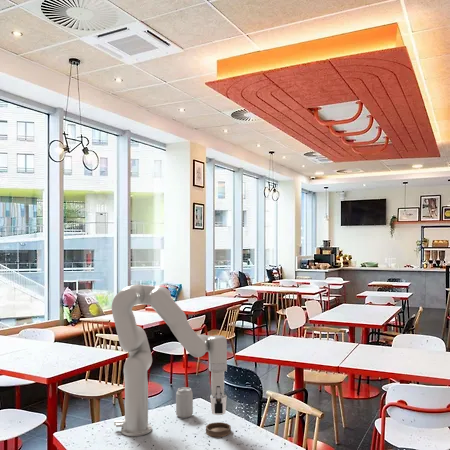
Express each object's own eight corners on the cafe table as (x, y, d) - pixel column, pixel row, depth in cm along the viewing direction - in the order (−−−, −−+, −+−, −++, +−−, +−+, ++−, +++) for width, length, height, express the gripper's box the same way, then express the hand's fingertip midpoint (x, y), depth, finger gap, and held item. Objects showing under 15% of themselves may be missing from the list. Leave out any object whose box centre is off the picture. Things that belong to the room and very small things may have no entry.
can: (173, 417, 217) (173, 390, 218) (179, 412, 224) (179, 385, 225) (189, 419, 215) (189, 391, 216) (194, 413, 223) (194, 387, 223)
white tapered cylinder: (226, 409, 204) (226, 392, 204) (227, 415, 197) (227, 397, 198) (210, 410, 204) (210, 393, 204) (210, 415, 197) (210, 398, 197)
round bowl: (205, 437, 195) (205, 432, 195) (206, 427, 205) (206, 422, 205) (231, 436, 195) (231, 431, 195) (230, 427, 206) (230, 422, 206)
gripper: (208, 361, 210) (209, 403, 209) (208, 372, 193) (209, 418, 192) (226, 361, 210) (227, 403, 209) (227, 371, 193) (228, 417, 192)
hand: (218, 409), depth 201 cm, fingers closed on white tapered cylinder, 6 cm apart
